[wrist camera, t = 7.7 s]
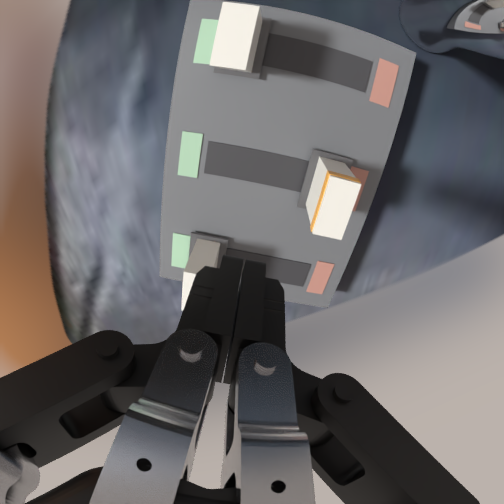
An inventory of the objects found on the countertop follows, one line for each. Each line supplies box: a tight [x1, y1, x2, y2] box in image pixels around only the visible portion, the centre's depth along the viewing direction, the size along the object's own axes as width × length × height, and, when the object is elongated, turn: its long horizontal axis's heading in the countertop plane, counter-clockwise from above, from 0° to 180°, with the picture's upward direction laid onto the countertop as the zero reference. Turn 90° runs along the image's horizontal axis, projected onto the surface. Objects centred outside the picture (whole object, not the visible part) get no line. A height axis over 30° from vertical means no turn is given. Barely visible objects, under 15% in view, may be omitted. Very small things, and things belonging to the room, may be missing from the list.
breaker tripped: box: [297, 149, 361, 240], centre depth 20 cm, size 3×5×5 cm
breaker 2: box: [210, 2, 272, 80], centre depth 15 cm, size 3×5×5 cm
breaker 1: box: [181, 232, 228, 311], centre depth 25 cm, size 3×5×5 cm
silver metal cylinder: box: [399, 0, 504, 60], centre depth 10 cm, size 7×7×15 cm
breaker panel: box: [160, 0, 416, 308], centre depth 23 cm, size 17×25×3 cm
